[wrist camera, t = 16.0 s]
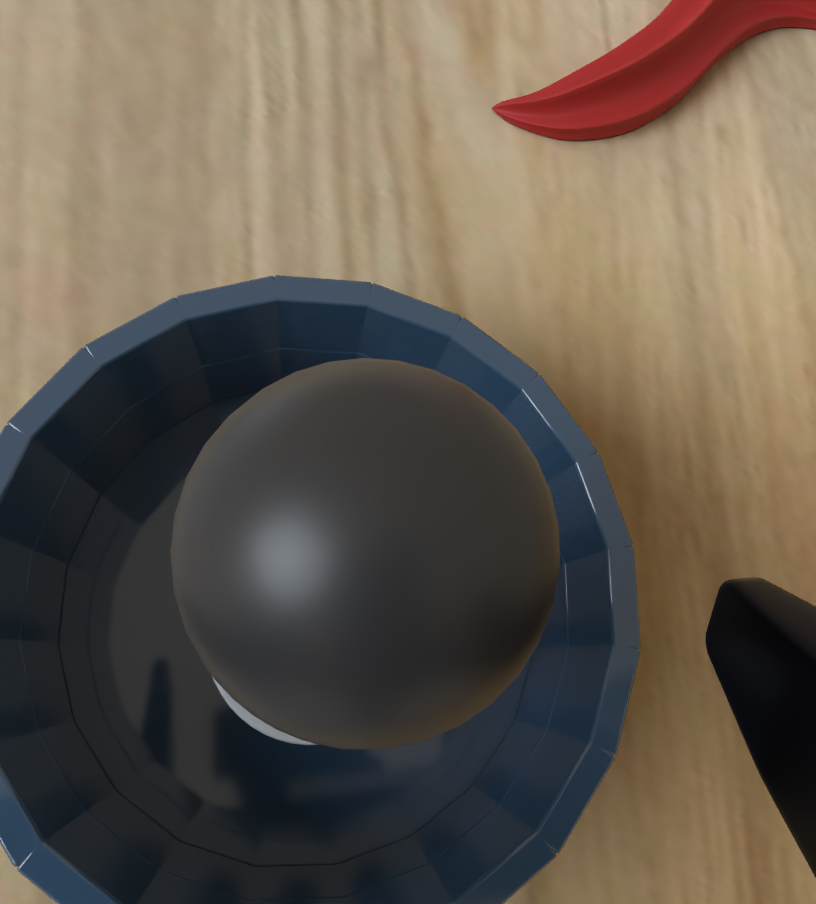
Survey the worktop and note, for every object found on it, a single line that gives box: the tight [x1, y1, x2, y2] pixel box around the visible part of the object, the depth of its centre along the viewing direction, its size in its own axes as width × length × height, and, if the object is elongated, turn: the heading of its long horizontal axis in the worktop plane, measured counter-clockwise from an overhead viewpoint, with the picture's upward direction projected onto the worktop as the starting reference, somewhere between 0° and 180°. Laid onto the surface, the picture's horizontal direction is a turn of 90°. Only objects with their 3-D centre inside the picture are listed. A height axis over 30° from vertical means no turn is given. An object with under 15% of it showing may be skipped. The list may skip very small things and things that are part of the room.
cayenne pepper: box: [492, 0, 816, 140], centre depth 22 cm, size 12×5×2 cm, turn 106°
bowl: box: [0, 275, 640, 904], centre depth 15 cm, size 11×11×5 cm
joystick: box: [170, 358, 560, 750], centre depth 10 cm, size 4×4×14 cm
